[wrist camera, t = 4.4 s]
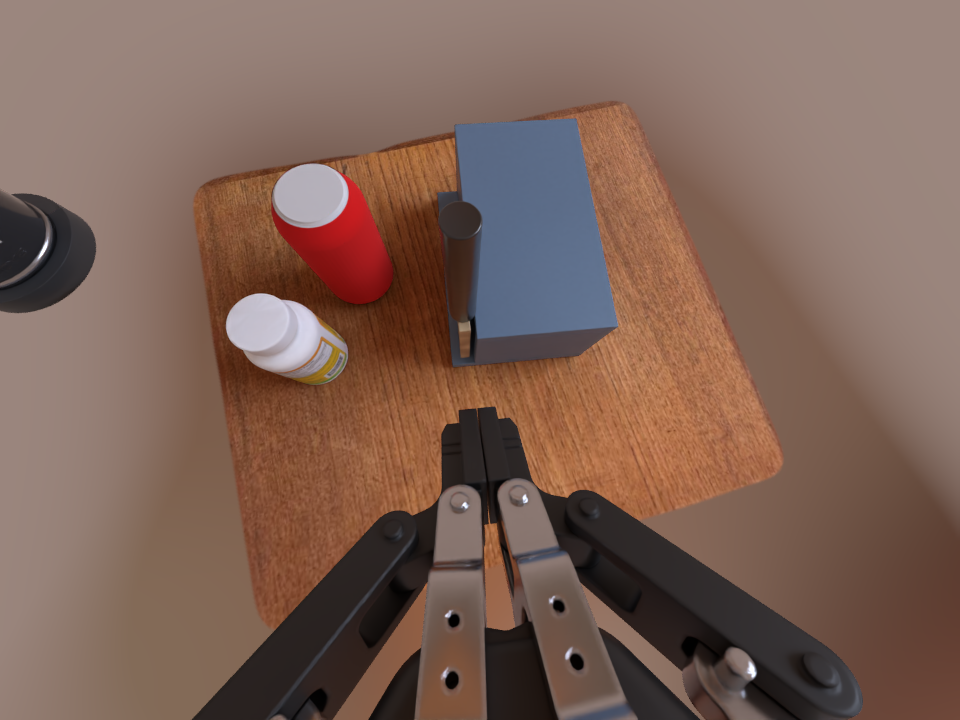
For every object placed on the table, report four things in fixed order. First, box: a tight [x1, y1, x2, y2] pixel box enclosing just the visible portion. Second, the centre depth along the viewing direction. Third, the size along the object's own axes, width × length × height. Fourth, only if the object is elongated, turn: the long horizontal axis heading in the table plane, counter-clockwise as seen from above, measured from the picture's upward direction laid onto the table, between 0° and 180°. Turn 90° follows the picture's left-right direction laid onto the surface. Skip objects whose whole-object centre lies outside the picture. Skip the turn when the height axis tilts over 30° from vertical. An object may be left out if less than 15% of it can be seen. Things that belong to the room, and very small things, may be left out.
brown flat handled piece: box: [438, 201, 483, 358], centre depth 23 cm, size 2×8×18 cm, turn 6°
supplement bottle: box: [226, 294, 348, 385], centre depth 27 cm, size 5×5×10 cm
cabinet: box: [437, 119, 618, 367], centre depth 30 cm, size 12×18×9 cm, turn 6°
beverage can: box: [271, 163, 393, 304], centre depth 28 cm, size 6×6×12 cm
